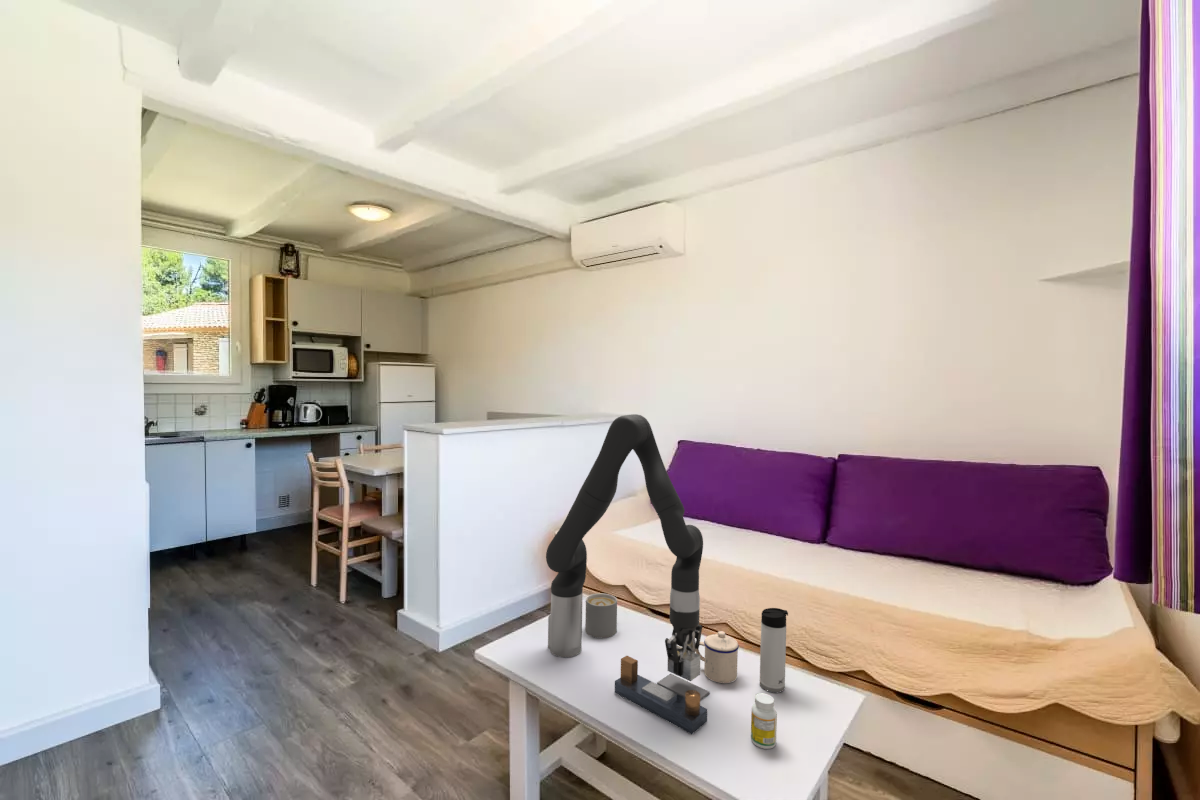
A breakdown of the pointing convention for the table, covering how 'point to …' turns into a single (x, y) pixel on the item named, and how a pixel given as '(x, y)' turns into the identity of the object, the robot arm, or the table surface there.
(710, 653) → the teacup with lid
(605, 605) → the coffee mug
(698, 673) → the lever cap
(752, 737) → the supplement bottle
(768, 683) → the travel mug
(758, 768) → the table surface
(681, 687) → the rubber mat
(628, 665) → the hand plane
